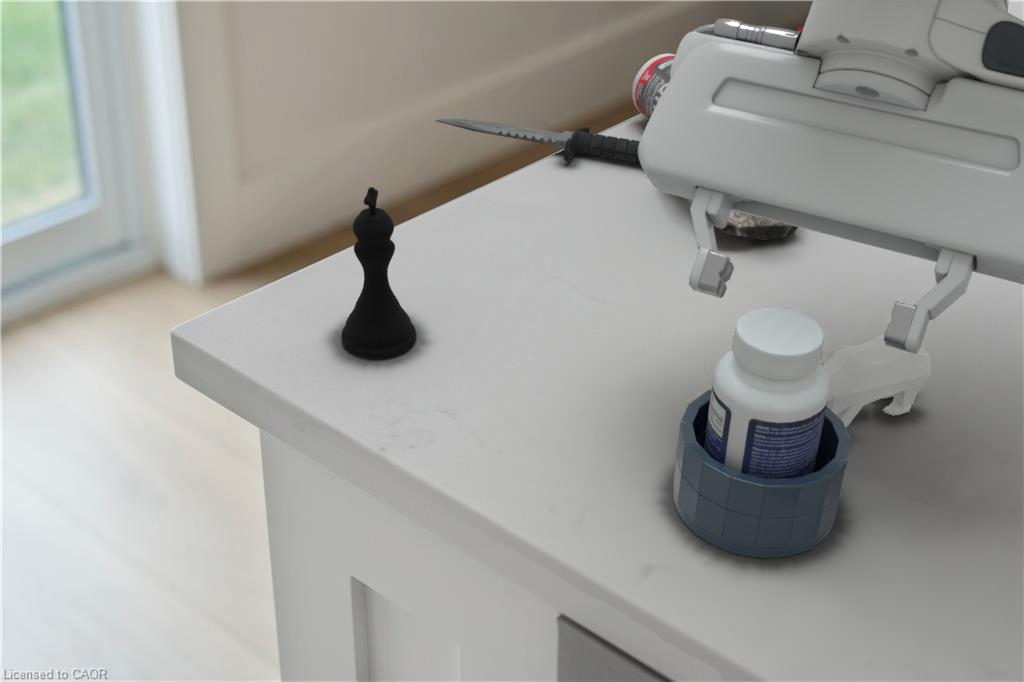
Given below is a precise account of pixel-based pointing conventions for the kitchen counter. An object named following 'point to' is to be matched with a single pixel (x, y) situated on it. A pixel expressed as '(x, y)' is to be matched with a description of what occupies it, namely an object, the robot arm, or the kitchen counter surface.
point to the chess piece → (376, 291)
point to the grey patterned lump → (756, 227)
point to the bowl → (757, 493)
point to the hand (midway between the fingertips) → (799, 318)
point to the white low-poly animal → (875, 377)
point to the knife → (558, 139)
